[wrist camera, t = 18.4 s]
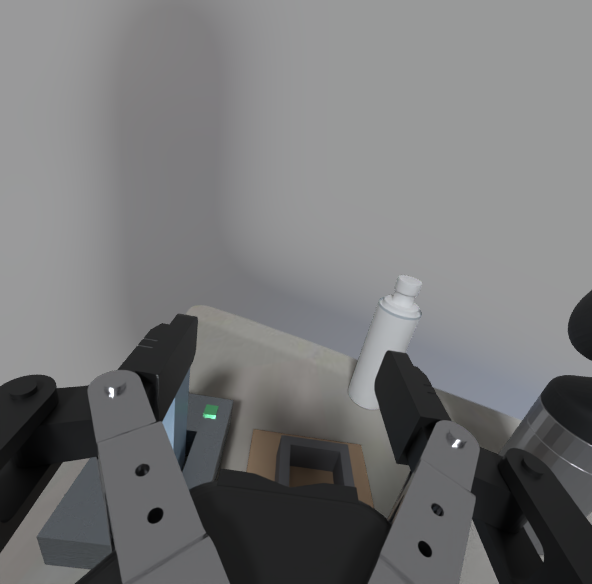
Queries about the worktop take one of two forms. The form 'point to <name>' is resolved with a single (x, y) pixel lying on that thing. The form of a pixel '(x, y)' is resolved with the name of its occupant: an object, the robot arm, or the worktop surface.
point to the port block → (89, 501)
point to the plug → (178, 421)
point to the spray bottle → (385, 338)
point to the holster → (308, 462)
